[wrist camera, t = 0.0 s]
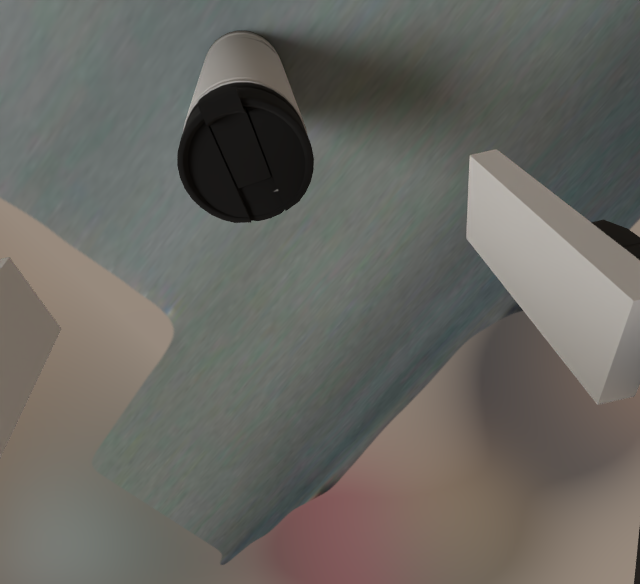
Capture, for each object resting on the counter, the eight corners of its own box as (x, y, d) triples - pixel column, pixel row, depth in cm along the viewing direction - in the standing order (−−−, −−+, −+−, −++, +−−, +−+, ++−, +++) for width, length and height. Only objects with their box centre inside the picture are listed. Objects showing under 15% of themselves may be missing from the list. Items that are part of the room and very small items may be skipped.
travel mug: (266, 13, 33) (289, 68, 18) (293, 101, 38) (332, 211, 22) (187, 41, 34) (142, 120, 18) (223, 125, 38) (211, 250, 22)
